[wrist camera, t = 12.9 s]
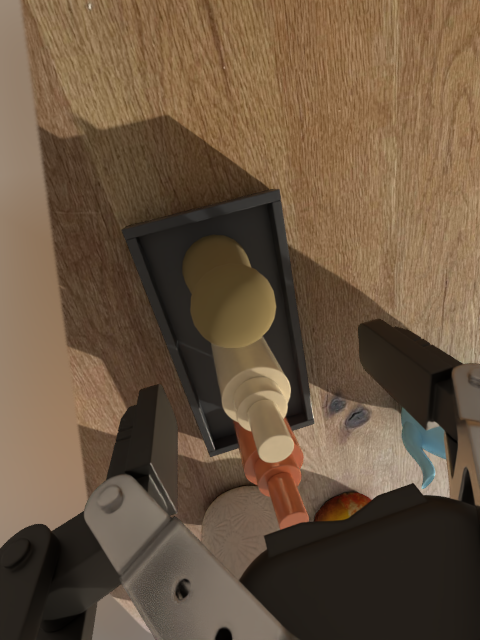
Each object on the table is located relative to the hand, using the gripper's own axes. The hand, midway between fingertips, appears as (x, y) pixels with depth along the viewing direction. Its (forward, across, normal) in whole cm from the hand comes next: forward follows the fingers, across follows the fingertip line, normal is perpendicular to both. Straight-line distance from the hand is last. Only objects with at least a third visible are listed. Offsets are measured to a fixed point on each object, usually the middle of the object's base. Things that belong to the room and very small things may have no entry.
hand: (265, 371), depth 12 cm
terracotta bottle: (+16, 0, +15) cm, 22 cm away
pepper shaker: (+17, 0, 0) cm, 17 cm away
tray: (+17, 0, +8) cm, 19 cm away
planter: (+17, +5, +34) cm, 38 cm away
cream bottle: (+16, 0, +8) cm, 18 cm away
